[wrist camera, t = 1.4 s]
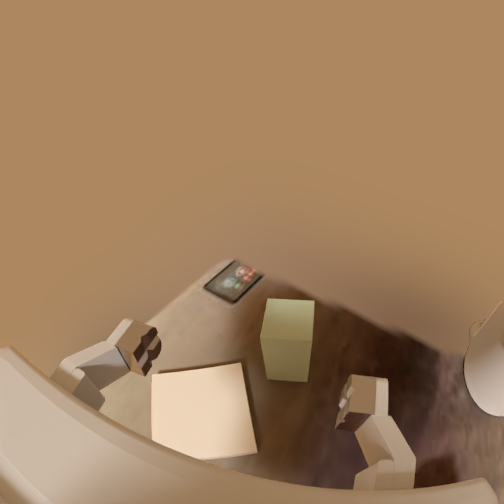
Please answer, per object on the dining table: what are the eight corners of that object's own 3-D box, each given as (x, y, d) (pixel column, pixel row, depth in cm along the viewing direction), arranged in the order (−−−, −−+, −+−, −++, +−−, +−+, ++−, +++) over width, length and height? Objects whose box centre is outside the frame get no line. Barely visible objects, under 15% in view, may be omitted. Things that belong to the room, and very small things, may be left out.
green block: (310, 348, 35) (314, 300, 29) (307, 382, 31) (312, 340, 25) (272, 346, 36) (267, 298, 30) (267, 379, 32) (259, 337, 26)
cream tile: (242, 366, 34) (240, 362, 33) (258, 453, 25) (257, 451, 24) (155, 378, 33) (152, 374, 33) (157, 461, 24) (153, 459, 23)
